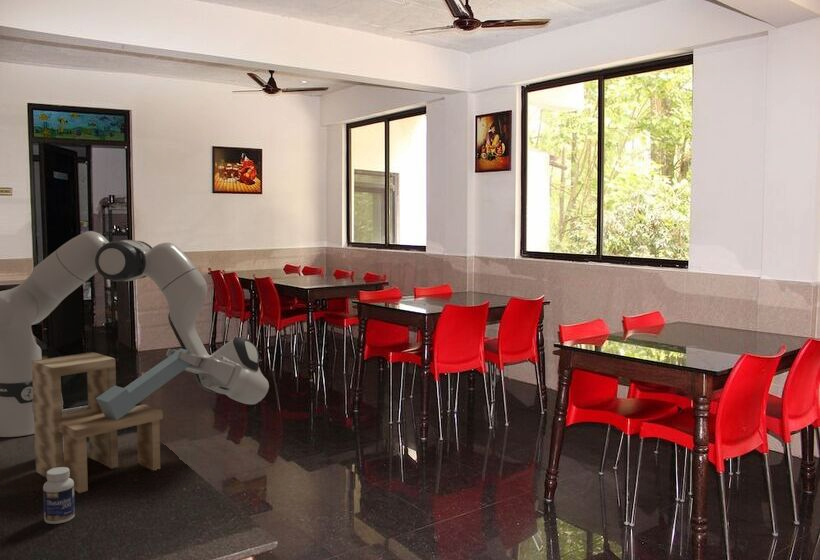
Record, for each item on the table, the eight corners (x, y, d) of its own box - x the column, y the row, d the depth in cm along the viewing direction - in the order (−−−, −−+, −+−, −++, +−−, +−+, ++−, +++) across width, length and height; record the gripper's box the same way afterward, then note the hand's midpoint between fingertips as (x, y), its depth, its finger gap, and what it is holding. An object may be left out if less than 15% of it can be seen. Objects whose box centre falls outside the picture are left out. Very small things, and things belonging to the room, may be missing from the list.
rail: (105, 416, 154) (95, 398, 152) (183, 359, 170) (176, 343, 168) (117, 420, 151) (107, 402, 149) (196, 362, 167) (188, 345, 165)
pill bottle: (44, 527, 130) (42, 477, 129) (44, 515, 135) (42, 468, 134) (75, 521, 133) (73, 473, 132) (74, 510, 137) (73, 463, 137)
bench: (61, 484, 150) (59, 422, 149) (146, 460, 166) (144, 404, 164) (77, 494, 145) (75, 430, 144) (163, 468, 161) (162, 410, 159)
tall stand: (36, 471, 158) (31, 360, 155) (96, 455, 168) (93, 352, 166) (56, 484, 151) (52, 368, 148) (118, 466, 161) (115, 358, 159)
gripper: (199, 356, 182) (157, 336, 173) (246, 367, 169) (203, 346, 160) (189, 378, 180) (145, 359, 171) (236, 391, 167) (192, 371, 158)
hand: (174, 353), depth 165 cm, fingers closed on rail, 4 cm apart
